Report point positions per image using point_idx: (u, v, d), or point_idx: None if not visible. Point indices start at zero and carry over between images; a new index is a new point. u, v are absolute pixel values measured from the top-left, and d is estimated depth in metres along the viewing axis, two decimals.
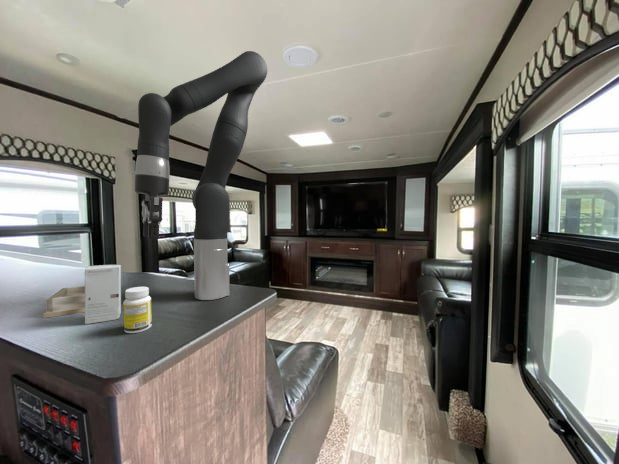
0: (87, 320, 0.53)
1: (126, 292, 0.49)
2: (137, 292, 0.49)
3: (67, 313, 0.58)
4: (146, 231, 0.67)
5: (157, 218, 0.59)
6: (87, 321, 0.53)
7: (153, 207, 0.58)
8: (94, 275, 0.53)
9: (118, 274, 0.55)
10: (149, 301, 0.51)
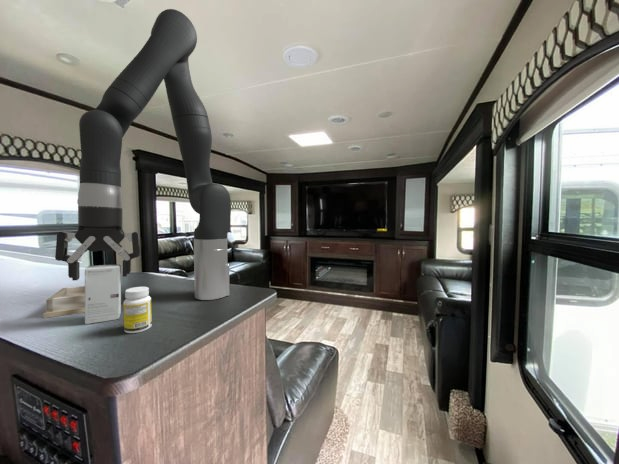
0: (87, 320, 0.53)
1: (126, 292, 0.49)
2: (137, 292, 0.49)
3: (67, 313, 0.58)
4: (77, 272, 0.53)
5: (139, 253, 0.59)
6: (87, 321, 0.53)
7: (138, 243, 0.58)
8: (94, 275, 0.53)
9: (118, 274, 0.55)
10: (149, 301, 0.51)
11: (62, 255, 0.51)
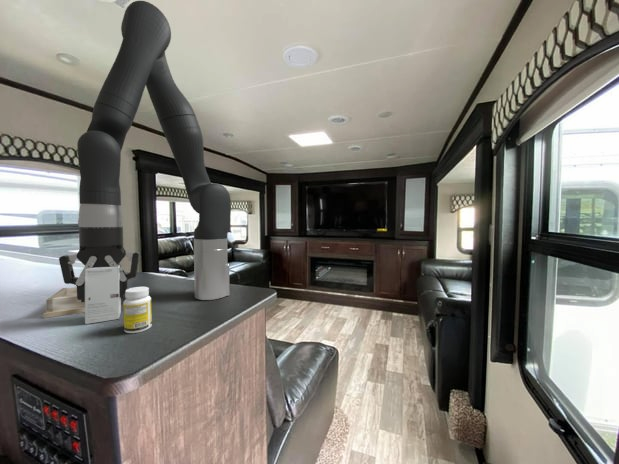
0: (87, 319, 0.53)
1: (126, 292, 0.49)
2: (137, 292, 0.49)
3: (67, 313, 0.58)
4: None
5: (136, 273, 0.59)
6: (87, 321, 0.53)
7: (137, 263, 0.58)
8: (94, 275, 0.53)
9: (118, 274, 0.55)
10: (149, 301, 0.51)
11: (70, 278, 0.52)
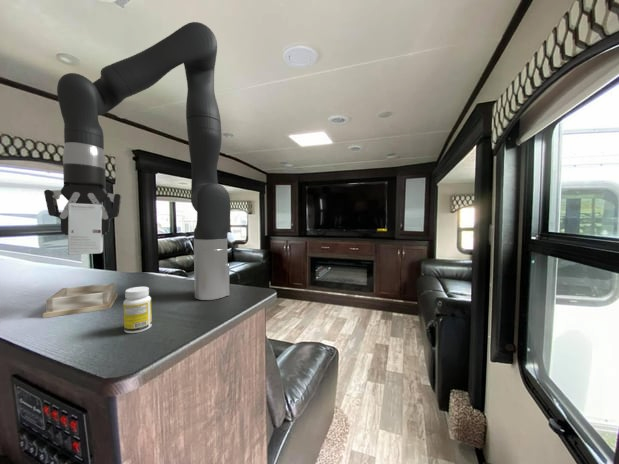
0: (70, 250, 0.57)
1: (126, 292, 0.49)
2: (137, 292, 0.49)
3: (67, 313, 0.58)
4: None
5: (117, 214, 0.63)
6: (70, 252, 0.57)
7: (119, 204, 0.63)
8: (77, 210, 0.57)
9: (100, 212, 0.60)
10: (149, 301, 0.51)
11: (54, 211, 0.56)
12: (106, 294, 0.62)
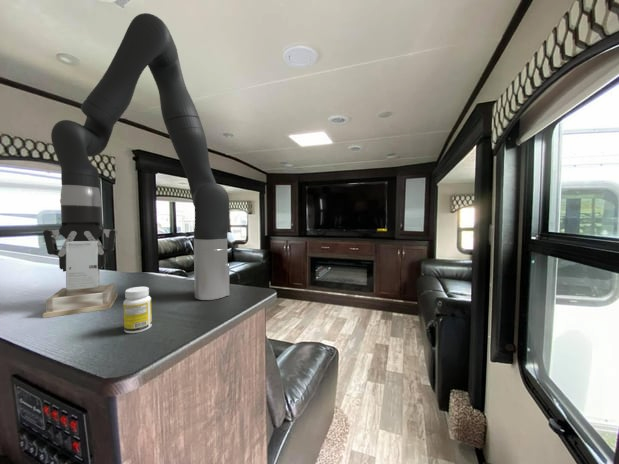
0: (68, 286, 0.60)
1: (126, 292, 0.49)
2: (137, 292, 0.49)
3: (67, 313, 0.58)
4: None
5: (113, 248, 0.66)
6: (68, 287, 0.60)
7: (114, 239, 0.66)
8: (74, 248, 0.61)
9: (96, 248, 0.63)
10: (149, 301, 0.51)
11: (53, 249, 0.59)
12: (106, 294, 0.62)
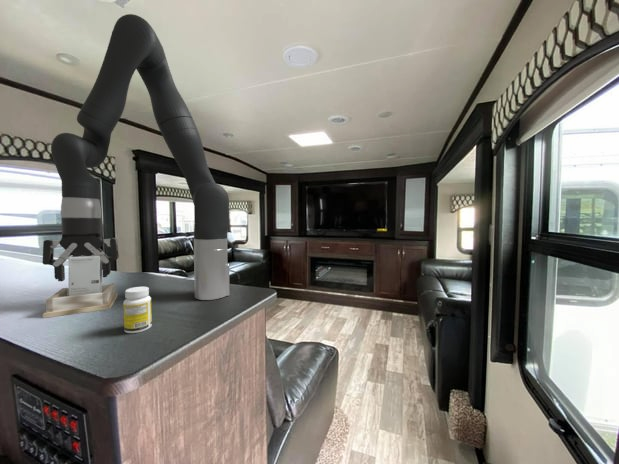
0: None
1: (126, 292, 0.49)
2: (137, 292, 0.49)
3: (67, 313, 0.58)
4: (62, 274, 0.61)
5: (117, 256, 0.67)
6: None
7: (116, 248, 0.66)
8: (77, 263, 0.61)
9: (98, 263, 0.63)
10: (149, 301, 0.51)
11: (48, 260, 0.59)
12: (106, 294, 0.62)
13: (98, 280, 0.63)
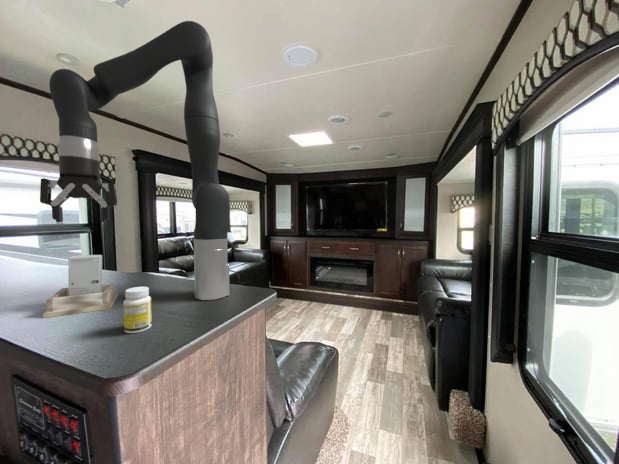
0: None
1: (126, 292, 0.49)
2: (137, 292, 0.49)
3: (67, 313, 0.58)
4: (60, 215, 0.60)
5: (116, 202, 0.66)
6: None
7: (115, 193, 0.66)
8: (77, 263, 0.61)
9: (98, 263, 0.63)
10: (149, 301, 0.51)
11: (46, 199, 0.58)
12: (106, 294, 0.62)
13: (98, 280, 0.63)
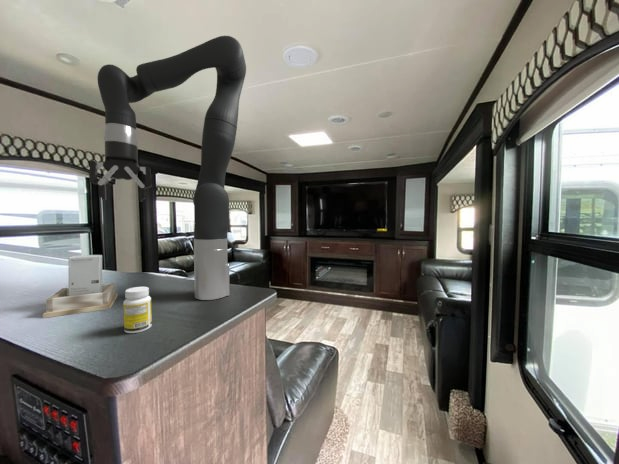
0: None
1: (126, 292, 0.49)
2: (137, 292, 0.49)
3: (67, 313, 0.58)
4: (105, 194, 0.68)
5: None
6: None
7: None
8: (77, 263, 0.61)
9: (98, 263, 0.63)
10: (149, 301, 0.51)
11: (94, 178, 0.66)
12: (106, 294, 0.62)
13: (98, 280, 0.63)
